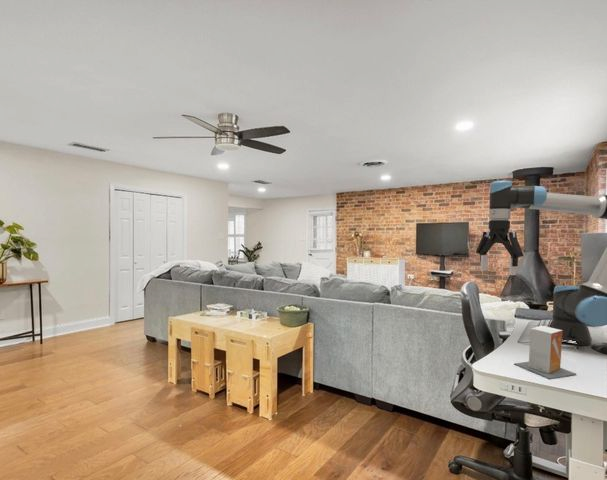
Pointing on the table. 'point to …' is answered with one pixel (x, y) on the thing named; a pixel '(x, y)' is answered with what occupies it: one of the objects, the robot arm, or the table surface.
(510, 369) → the table surface
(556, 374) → the slate mat
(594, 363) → the table surface
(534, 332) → the small box
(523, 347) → the table surface
